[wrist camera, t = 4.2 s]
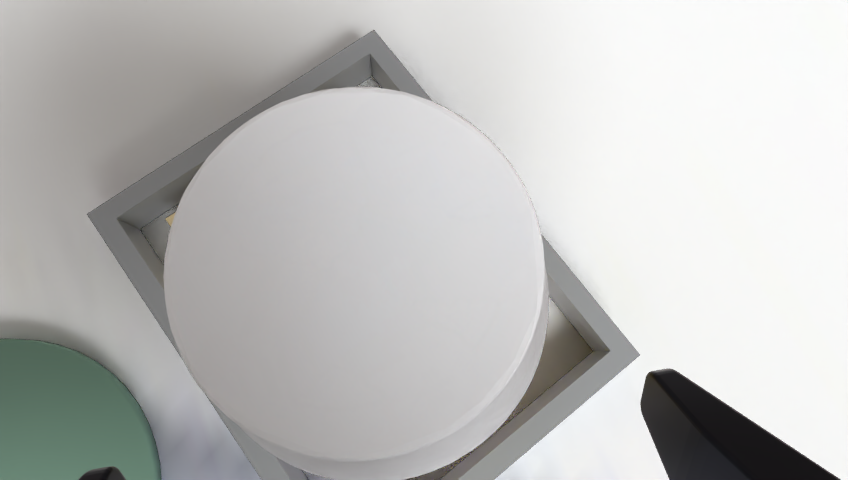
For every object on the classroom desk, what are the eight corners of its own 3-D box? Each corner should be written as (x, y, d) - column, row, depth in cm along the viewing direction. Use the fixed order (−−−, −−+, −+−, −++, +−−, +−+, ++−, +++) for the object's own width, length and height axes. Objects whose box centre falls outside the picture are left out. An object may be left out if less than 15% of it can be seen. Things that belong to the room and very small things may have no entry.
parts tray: (620, 355, 19) (640, 354, 17) (350, 583, 17) (344, 606, 15) (376, 53, 21) (373, 29, 19) (112, 225, 19) (86, 214, 18)
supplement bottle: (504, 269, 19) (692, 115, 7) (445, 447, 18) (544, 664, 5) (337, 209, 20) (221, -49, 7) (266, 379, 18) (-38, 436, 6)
